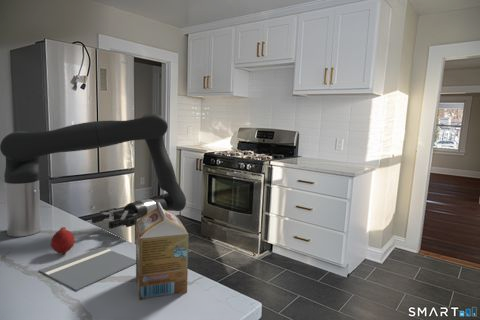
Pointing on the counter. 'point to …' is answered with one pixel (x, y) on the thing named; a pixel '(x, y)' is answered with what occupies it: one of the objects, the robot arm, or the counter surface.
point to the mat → (88, 268)
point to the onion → (62, 241)
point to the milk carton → (161, 255)
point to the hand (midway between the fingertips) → (100, 222)
